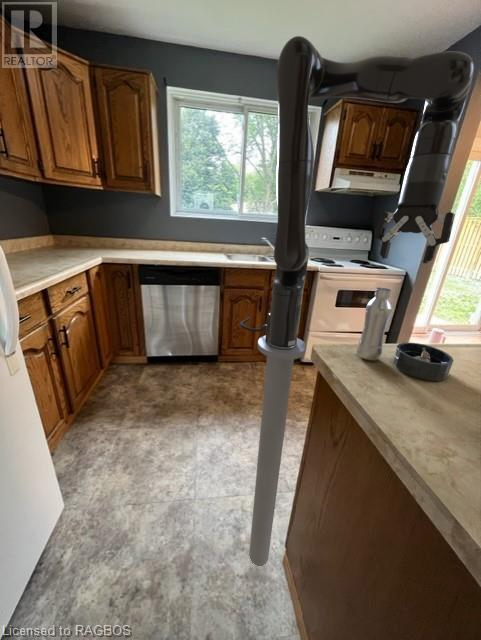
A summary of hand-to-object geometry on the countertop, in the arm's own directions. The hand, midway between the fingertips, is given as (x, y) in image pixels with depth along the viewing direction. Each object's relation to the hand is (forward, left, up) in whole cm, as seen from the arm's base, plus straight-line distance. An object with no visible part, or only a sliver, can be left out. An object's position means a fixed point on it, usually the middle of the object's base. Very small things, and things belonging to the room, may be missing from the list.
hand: (403, 260), depth 62 cm
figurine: (+8, +8, -28) cm, 30 cm away
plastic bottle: (-4, +4, -28) cm, 29 cm away
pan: (+8, +8, -28) cm, 30 cm away
